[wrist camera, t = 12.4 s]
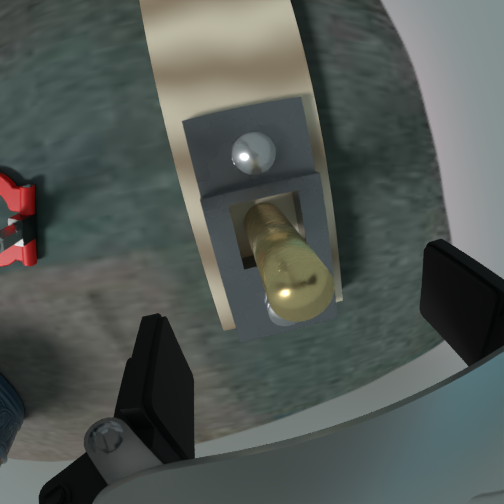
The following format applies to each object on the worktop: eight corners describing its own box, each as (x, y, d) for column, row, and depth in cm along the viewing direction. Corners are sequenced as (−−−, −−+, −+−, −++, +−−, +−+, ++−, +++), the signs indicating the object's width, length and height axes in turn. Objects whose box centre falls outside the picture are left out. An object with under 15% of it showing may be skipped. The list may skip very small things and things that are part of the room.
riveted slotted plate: (183, 121, 19) (177, 119, 16) (297, 98, 19) (310, 93, 16) (238, 327, 25) (241, 350, 22) (329, 304, 25) (341, 324, 22)
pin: (240, 207, 21) (262, 271, 12) (280, 198, 21) (331, 253, 12) (248, 245, 22) (274, 328, 13) (287, 236, 22) (336, 311, 13)
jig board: (143, 6, 16) (139, -1, 15) (277, -19, 16) (281, -27, 15) (223, 320, 26) (223, 330, 25) (336, 291, 26) (342, 300, 25)
